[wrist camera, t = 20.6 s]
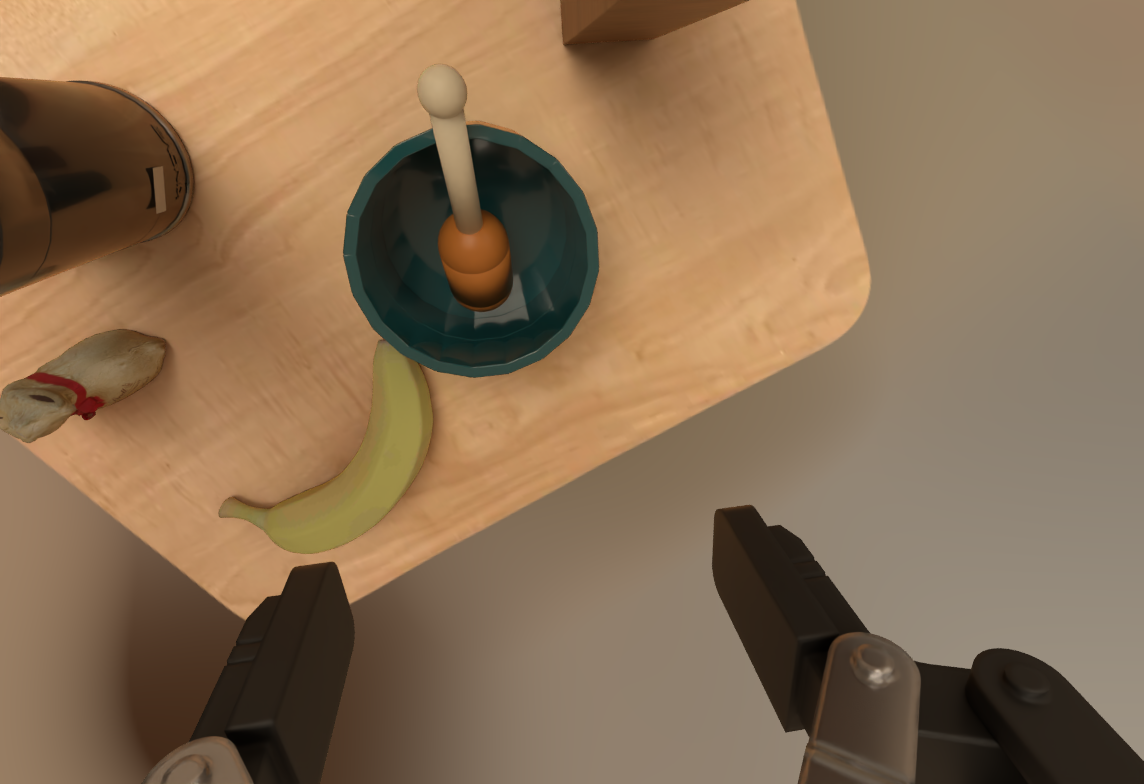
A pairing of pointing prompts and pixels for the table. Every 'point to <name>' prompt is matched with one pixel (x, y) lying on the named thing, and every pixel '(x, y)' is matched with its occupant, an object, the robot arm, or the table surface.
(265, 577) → the table surface
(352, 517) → the banana
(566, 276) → the pot
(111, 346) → the chocolate bunny
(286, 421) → the table surface
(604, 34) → the stand
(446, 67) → the drumstick
